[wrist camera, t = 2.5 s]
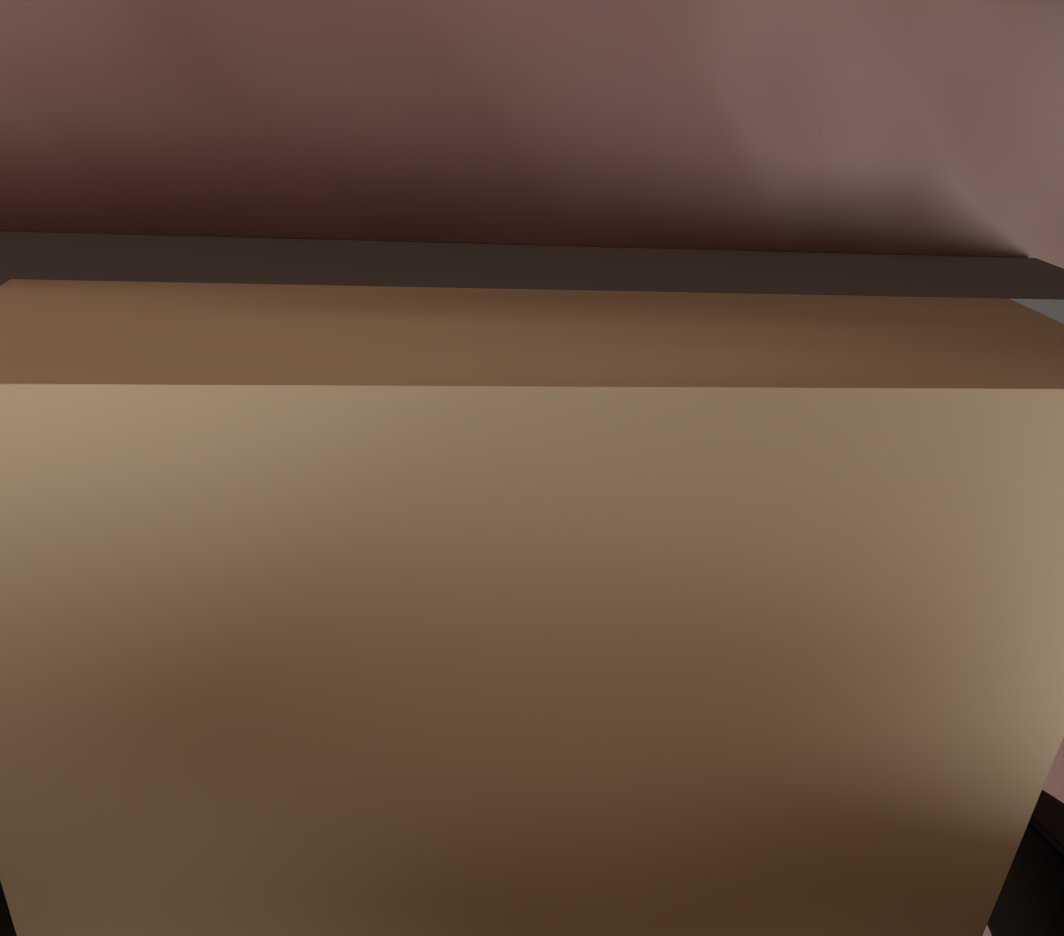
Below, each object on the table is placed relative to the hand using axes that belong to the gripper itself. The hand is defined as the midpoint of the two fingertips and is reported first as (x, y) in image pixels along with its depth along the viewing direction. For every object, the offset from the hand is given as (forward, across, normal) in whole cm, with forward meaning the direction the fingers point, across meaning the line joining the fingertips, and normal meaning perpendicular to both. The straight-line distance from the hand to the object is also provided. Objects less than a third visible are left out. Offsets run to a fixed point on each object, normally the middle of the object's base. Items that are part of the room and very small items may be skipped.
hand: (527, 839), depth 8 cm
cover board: (+1, 0, 0) cm, 1 cm away
